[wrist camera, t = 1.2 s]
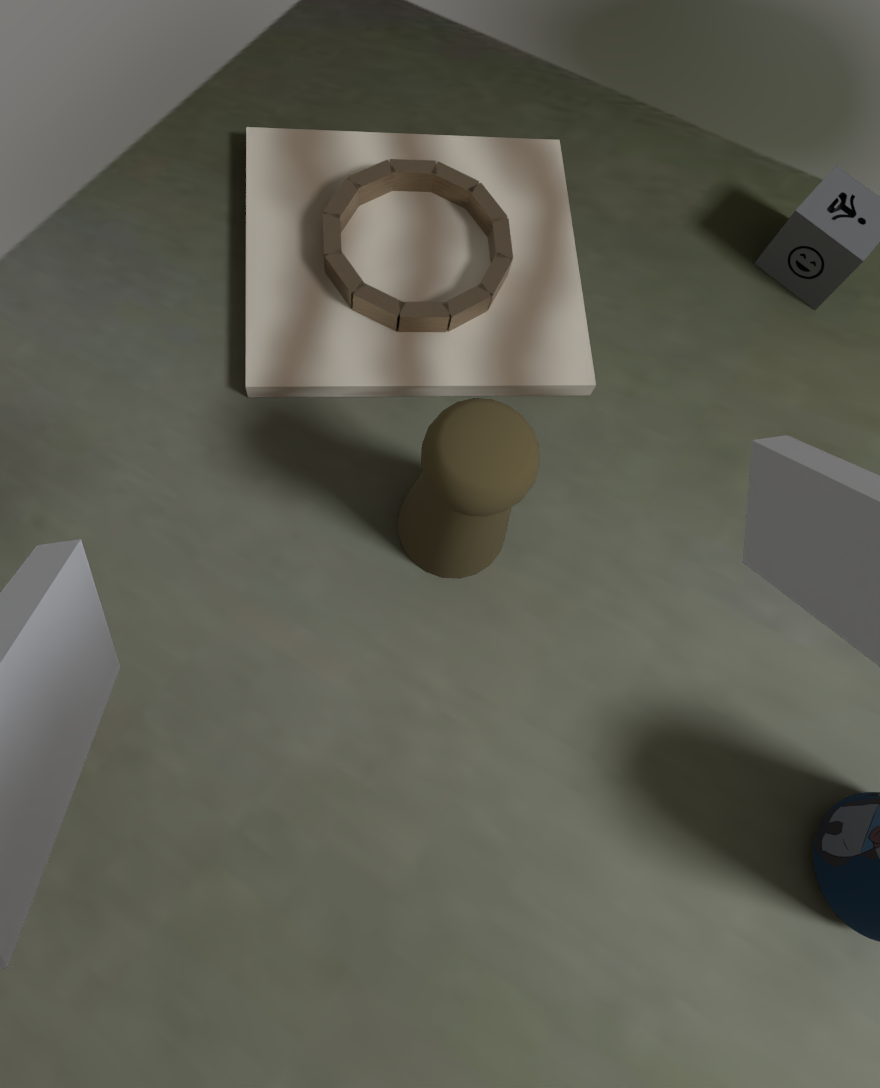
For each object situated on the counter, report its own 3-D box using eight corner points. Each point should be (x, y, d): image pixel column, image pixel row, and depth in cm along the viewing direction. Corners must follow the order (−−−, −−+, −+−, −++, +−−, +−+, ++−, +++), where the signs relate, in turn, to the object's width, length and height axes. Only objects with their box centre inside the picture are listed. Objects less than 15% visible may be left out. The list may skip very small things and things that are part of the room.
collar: (326, 331, 44) (326, 316, 42) (321, 175, 47) (320, 156, 45) (514, 332, 45) (520, 318, 44) (497, 181, 48) (501, 162, 47)
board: (248, 397, 43) (245, 386, 42) (248, 142, 48) (246, 126, 47) (589, 395, 46) (595, 385, 45) (554, 154, 51) (559, 139, 50)
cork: (374, 521, 42) (384, 433, 31) (452, 455, 44) (486, 350, 33) (451, 601, 41) (487, 537, 31) (527, 530, 43) (586, 446, 32)
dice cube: (791, 221, 52) (836, 165, 47) (851, 266, 52) (902, 213, 47) (753, 264, 51) (795, 210, 46) (814, 311, 50) (863, 261, 45)
